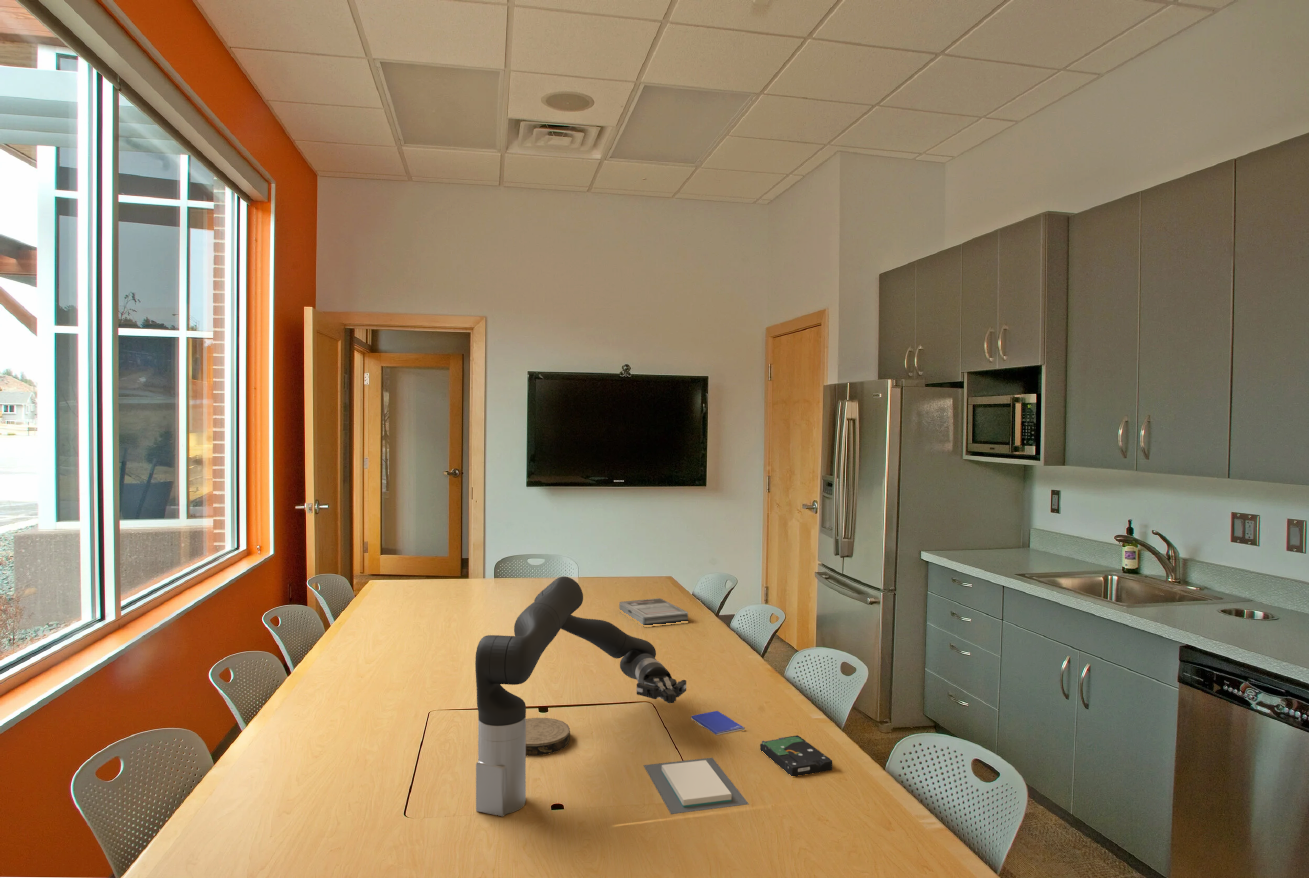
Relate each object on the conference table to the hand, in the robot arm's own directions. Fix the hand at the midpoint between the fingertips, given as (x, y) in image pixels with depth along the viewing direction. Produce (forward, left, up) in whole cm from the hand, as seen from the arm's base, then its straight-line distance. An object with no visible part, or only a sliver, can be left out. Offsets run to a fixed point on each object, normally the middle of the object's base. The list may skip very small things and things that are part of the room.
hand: (671, 699), depth 177 cm
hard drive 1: (+115, +50, -13) cm, 126 cm away
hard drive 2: (+20, -5, -13) cm, 25 cm away
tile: (-8, -6, -11) cm, 15 cm away
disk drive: (+7, -27, -13) cm, 31 cm away
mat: (-13, -10, -12) cm, 21 cm away
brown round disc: (-6, +32, -13) cm, 35 cm away
